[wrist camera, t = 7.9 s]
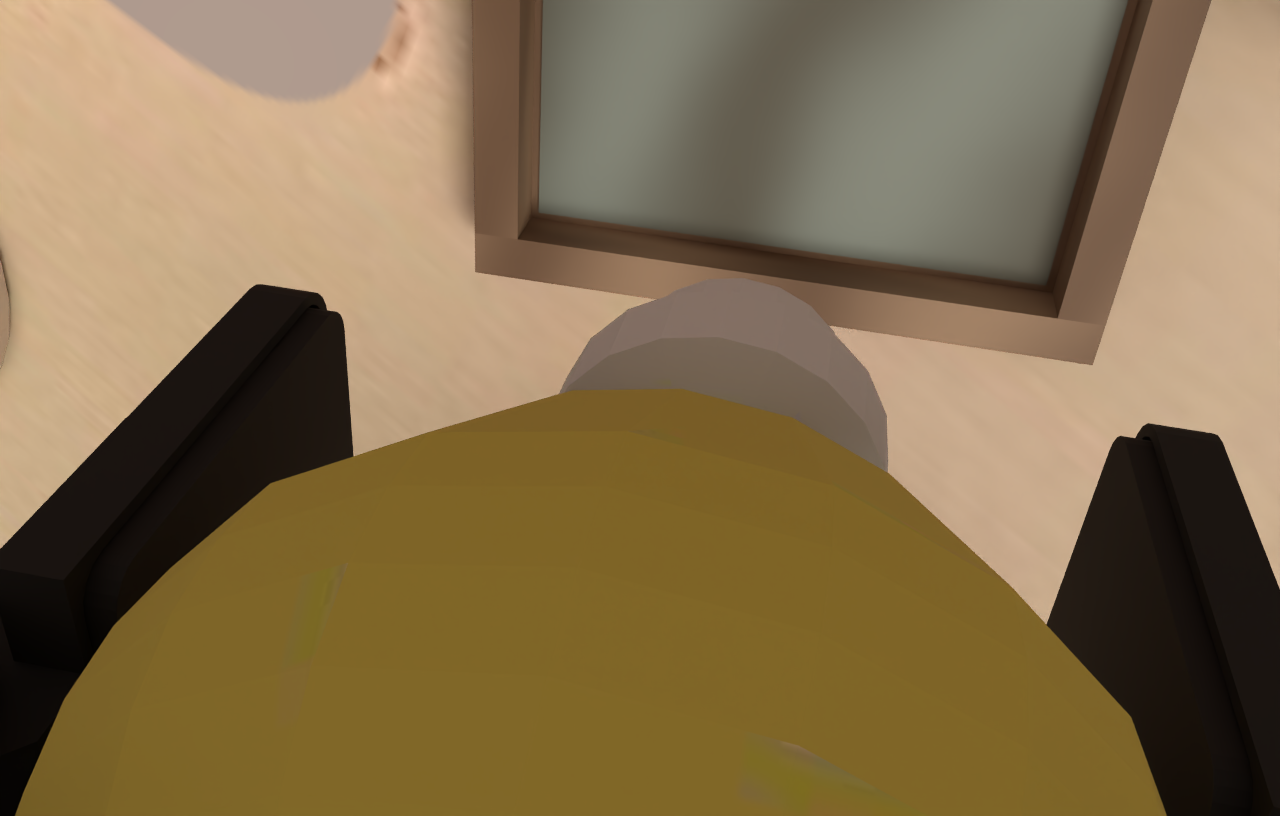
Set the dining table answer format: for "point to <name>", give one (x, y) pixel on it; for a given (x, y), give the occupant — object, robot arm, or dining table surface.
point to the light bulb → (601, 619)
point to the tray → (832, 153)
